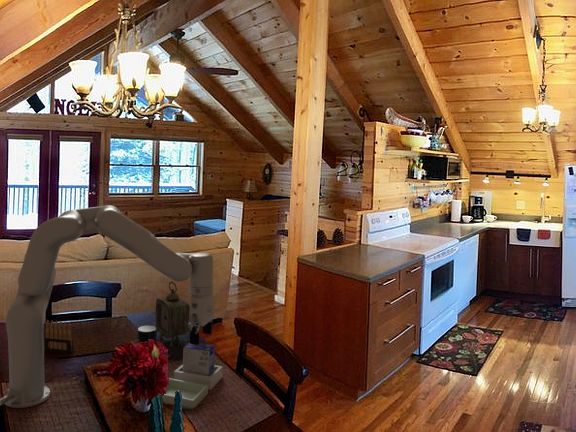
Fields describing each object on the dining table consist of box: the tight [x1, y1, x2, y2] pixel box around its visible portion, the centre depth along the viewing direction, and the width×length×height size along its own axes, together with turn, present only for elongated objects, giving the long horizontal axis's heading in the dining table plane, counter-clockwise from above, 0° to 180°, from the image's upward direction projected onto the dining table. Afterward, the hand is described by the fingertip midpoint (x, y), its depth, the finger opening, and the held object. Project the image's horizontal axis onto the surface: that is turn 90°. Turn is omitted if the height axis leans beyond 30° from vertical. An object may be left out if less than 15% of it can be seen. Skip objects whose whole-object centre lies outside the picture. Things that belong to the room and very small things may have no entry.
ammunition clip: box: [44, 319, 74, 354], centre depth 184 cm, size 11×2×12 cm, turn 83°
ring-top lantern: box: [155, 281, 190, 348], centre depth 198 cm, size 14×9×25 cm, turn 37°
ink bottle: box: [134, 324, 160, 344], centre depth 180 cm, size 10×9×12 cm
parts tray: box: [162, 377, 209, 411], centre depth 154 cm, size 10×14×3 cm
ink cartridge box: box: [182, 337, 216, 377], centre depth 166 cm, size 10×6×14 cm, turn 79°
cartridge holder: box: [173, 363, 224, 391], centre depth 167 cm, size 10×14×4 cm
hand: (200, 338), depth 165 cm, fingers open, 9 cm apart
